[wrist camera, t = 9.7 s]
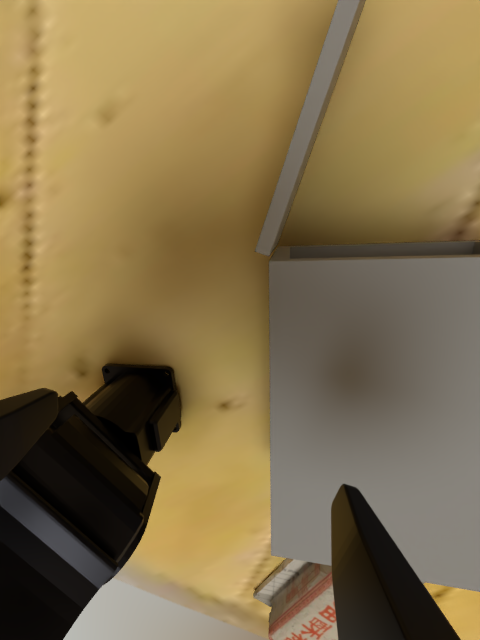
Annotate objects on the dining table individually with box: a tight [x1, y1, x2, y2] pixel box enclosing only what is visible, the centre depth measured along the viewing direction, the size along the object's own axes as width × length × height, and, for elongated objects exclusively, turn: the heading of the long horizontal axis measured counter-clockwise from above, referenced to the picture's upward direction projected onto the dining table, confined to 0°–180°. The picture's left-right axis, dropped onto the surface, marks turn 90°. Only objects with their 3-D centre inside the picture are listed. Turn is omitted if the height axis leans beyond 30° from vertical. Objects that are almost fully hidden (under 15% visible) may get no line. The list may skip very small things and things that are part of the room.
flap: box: [255, 0, 366, 256], centre depth 10 cm, size 12×1×12 cm, turn 162°
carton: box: [269, 240, 480, 592], centre depth 16 cm, size 12×18×8 cm
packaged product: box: [253, 558, 425, 640], centre depth 26 cm, size 18×5×10 cm
